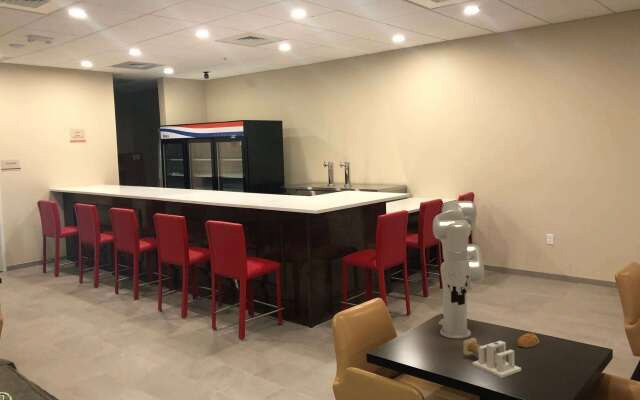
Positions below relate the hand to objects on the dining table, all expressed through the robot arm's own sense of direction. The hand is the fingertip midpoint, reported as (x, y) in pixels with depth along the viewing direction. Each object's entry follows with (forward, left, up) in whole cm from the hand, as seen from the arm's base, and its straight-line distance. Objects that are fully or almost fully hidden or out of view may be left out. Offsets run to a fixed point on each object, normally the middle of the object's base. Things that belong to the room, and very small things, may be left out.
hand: (457, 302), depth 195 cm
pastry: (+10, +27, -20) cm, 35 cm away
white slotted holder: (+18, 0, -19) cm, 26 cm away
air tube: (+13, 0, -18) cm, 22 cm away
